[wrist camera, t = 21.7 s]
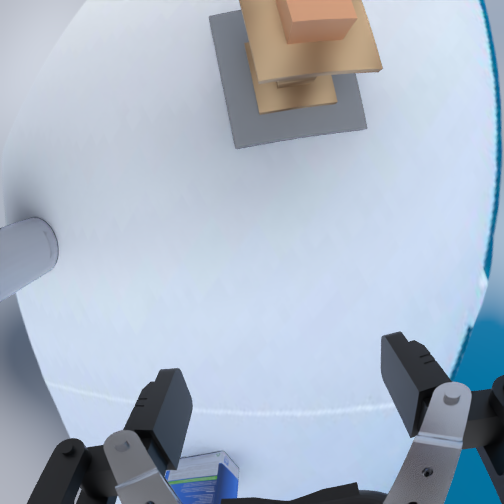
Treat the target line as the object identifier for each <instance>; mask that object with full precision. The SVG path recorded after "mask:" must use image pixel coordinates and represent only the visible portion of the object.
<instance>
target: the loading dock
mask: <svg viewBox="0 0 504 504" xmlns="http://www.w3.org/2000/svg"><path fill="white" fill-rule="evenodd" d="M209 21H210V25H211V30H212V35H213V40H214V45H215V50H216V55H217V60H218V65H219V70H220V75H221V80H222V84H223V89H224V94H225V99H226V104H227V109H228V114H229V119H230V124H231V129H232V134H233V139H234V144H235V148H236V149H240V148H245V147H251V146H256V145H261V144H267V143H273V142H278V141H285V140H291V139H297V138H304V137H310V136H318V135H325V134H333V133H341V132H349V131H359V130H364V129H367V124H366V119H365V114H364V109H363V105H362V100H361V95H360V91H359V87H358V82H357V78H356V74H355V73H349V74H336V75H331V76H332V80H333V84H334V88H335V93H336V97H337V103H336V104H332V105H323V106H315V107H307V108H300V109H293V110H286V111H280V112H274V113H268V114H262V115H260V114H259V109H258V105H257V100H256V95H255V91H254V86H253V81H252V77H251V72H250V68H249V63H248V59H247V54H246V50H245V44H244V43H247V42H249V39H248V35H247V31H246V27H245V23H244V19H243V14H242V10H238V11H232V12H227V13H222V14H217V15H213V16H209Z"/></svg>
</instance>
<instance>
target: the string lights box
mask: <svg viewBox="0 0 504 504" xmlns="http://www.w3.org/2000/svg"><path fill="white" fill-rule="evenodd" d="M165 478H166V479H167V481H168V482H169V484H170V485H171V487H172V488H173V490H174V491H175V493H176V494H177V496H178V497H179V499H180V500H181V502H182V503H183V504H221V499H227V498H237V491H238V478H239V468H238V467H237V466H236V465H235V463H234V462H233V461H232V460H231V459H230V458H229V456H228V455H227V454H226V453H225V452H224V451H220V452H215V453H211V454H205V455H200V456H194V457H188V458H181V459H180V460H179V464H178V468H177V470H167V471H166V475H165Z"/></svg>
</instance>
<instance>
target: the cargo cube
mask: <svg viewBox="0 0 504 504" xmlns="http://www.w3.org/2000/svg"><path fill="white" fill-rule="evenodd" d="M275 1H276V5H277V8H278V12H279V15H280V19H281V22H282V26H283V30H284V34H285V37H286V41H287V45H288V44H296V43H306V42H317V41H330V40H343V38H344V37H345V35H346V34H347V33H348V31H349V30H350V28H351V27H352V25H353V24H354V23H355V21H356V20H357V15H356V12H355V9H354V6H353V3H352V1H351V0H275Z"/></svg>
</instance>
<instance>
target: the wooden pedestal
mask: <svg viewBox="0 0 504 504" xmlns="http://www.w3.org/2000/svg"><path fill="white" fill-rule="evenodd" d="M351 1H352V3H353V6H354V9H355V12H356V15H357V20H356V21H355V23H354V24H353V25H352V27H351V28H350V30H349V31H348V33H347V34H346V35H345V37H344V38H343V40H330V41H317V42H306V43H296V44H288V45H287V41H286V37H285V34H284V30H283V26H282V22H281V19H280V15H279V12H278V8H277V5H276V1H275V0H239V2H240V6H241V10H242V14H243V19H244V23H245V27H246V31H247V35H248V39H249V42H247V43H244V44H245V50H246V54H247V59H248V63H249V68H250V72H251V77H252V81H253V86H254V91H255V95H256V100H257V105H258V109H259V114H260V115H262V114H268V113H274V112H280V111H286V110H293V109H300V108H307V107H315V106H323V105H332V104H336V103H337V97H336V93H335V88H334V84H333V80H332V76H331V75H336V74H349V73H367V72H379V71H380V70H382V69H383V68H382V64H381V61H380V57H379V53H378V50H377V46H376V43H375V40H374V36H373V33H372V30H371V27H370V24H369V21H368V18H367V15H366V12H365V9H364V6H363V3H362V1H361V0H351Z"/></svg>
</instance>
